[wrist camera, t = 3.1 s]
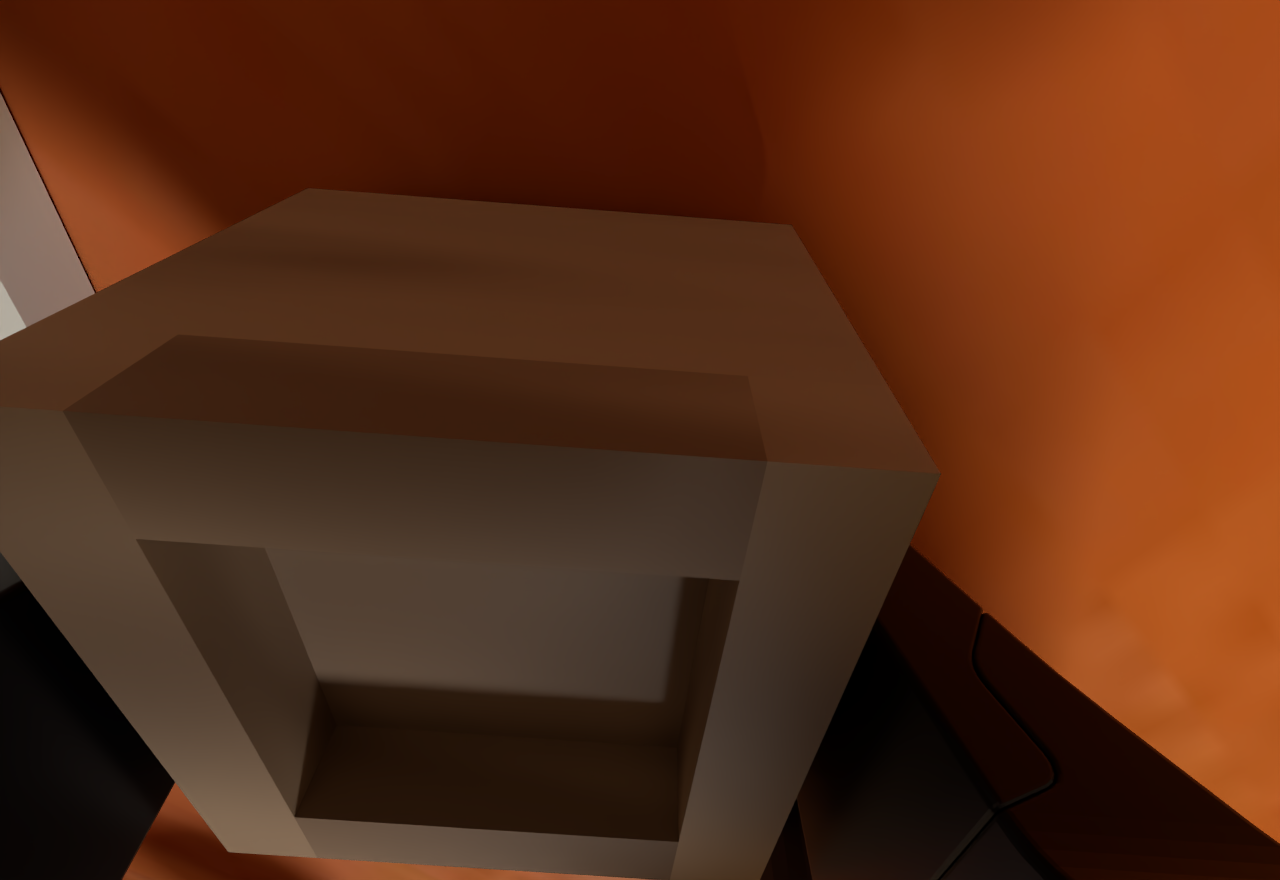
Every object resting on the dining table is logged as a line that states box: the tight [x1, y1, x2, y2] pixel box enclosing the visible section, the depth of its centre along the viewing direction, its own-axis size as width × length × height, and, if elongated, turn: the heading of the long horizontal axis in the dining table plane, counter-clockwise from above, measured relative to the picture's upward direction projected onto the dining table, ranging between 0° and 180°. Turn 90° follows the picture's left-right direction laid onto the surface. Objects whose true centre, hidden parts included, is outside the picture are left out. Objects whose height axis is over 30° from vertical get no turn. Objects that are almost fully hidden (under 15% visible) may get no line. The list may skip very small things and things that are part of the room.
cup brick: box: [0, 188, 941, 880], centre depth 7 cm, size 6×6×5 cm
